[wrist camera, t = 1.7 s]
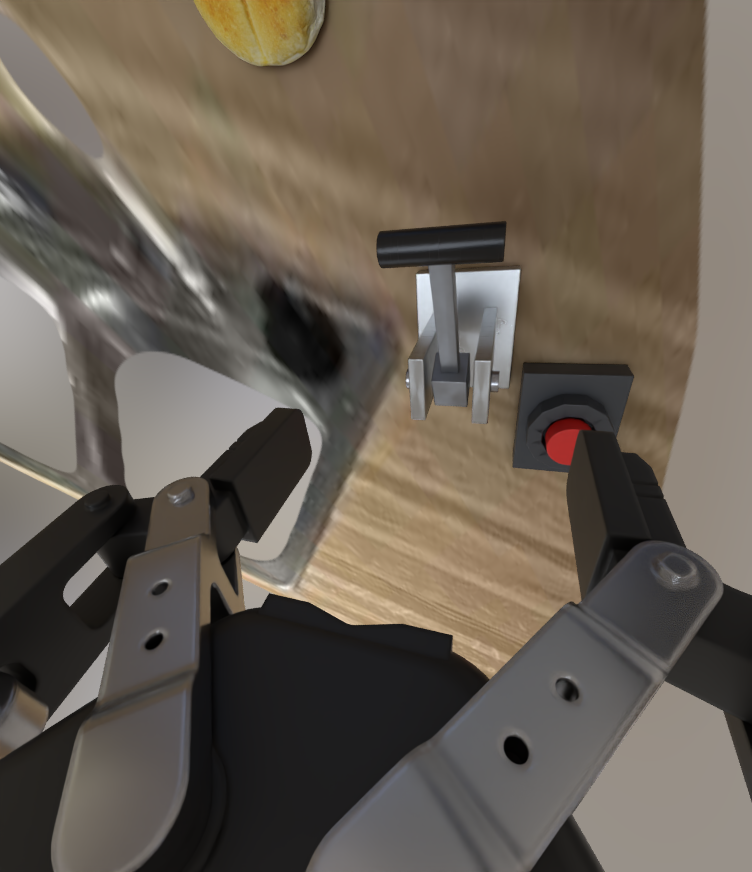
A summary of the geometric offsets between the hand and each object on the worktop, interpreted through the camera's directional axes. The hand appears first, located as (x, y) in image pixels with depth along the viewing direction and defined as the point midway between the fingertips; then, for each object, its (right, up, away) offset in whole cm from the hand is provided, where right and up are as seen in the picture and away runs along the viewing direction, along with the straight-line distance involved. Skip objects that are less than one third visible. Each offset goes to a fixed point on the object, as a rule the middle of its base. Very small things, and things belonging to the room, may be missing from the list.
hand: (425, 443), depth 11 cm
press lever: (+3, +7, +11) cm, 13 cm away
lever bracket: (+6, +10, +22) cm, 25 cm away
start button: (+15, 0, +21) cm, 26 cm away
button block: (+16, +2, +24) cm, 29 cm away
